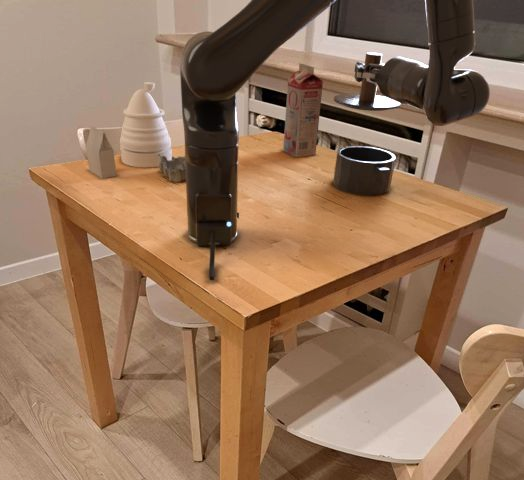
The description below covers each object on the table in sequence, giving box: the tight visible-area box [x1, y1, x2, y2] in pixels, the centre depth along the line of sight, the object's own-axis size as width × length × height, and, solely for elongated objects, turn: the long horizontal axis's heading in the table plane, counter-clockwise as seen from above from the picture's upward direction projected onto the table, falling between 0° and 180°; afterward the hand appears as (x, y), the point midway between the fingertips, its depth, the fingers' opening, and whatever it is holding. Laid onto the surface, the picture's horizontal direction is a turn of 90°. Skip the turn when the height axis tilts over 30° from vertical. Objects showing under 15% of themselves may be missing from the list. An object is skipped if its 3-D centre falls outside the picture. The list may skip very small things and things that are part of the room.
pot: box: [332, 145, 397, 196], centre depth 126 cm, size 14×19×8 cm
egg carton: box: [158, 154, 186, 183], centre depth 126 cm, size 11×8×4 cm
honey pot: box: [119, 81, 173, 168], centre depth 131 cm, size 13×13×18 cm
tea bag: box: [85, 125, 117, 179], centre depth 123 cm, size 4×7×10 cm, turn 40°
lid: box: [333, 52, 401, 112], centre depth 114 cm, size 15×15×10 cm
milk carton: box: [282, 62, 324, 158], centre depth 142 cm, size 7×7×22 cm
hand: (365, 67), depth 115 cm, fingers closed on lid, 3 cm apart
